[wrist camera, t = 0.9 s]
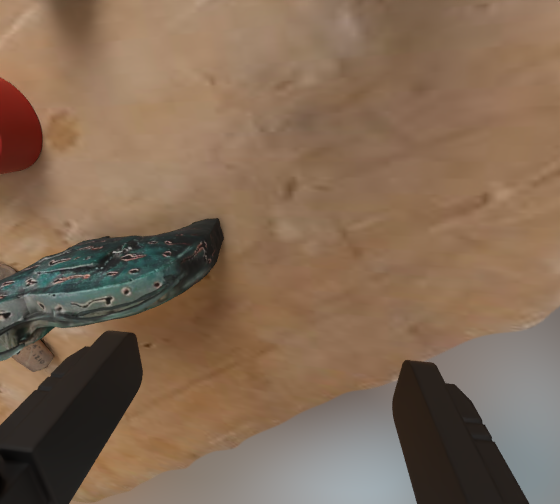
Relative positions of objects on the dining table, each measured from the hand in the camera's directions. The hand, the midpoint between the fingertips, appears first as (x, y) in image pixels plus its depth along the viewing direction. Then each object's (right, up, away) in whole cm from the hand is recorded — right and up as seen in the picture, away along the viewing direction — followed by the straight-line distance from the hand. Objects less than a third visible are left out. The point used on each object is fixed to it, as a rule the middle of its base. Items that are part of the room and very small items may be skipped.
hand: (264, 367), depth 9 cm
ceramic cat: (-15, +5, +29) cm, 33 cm away
